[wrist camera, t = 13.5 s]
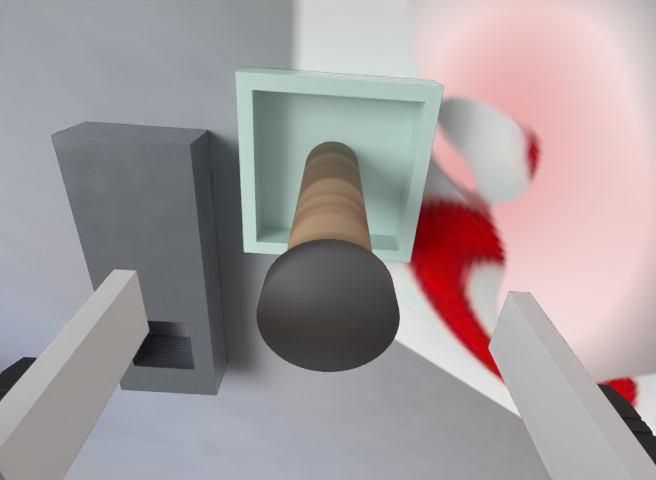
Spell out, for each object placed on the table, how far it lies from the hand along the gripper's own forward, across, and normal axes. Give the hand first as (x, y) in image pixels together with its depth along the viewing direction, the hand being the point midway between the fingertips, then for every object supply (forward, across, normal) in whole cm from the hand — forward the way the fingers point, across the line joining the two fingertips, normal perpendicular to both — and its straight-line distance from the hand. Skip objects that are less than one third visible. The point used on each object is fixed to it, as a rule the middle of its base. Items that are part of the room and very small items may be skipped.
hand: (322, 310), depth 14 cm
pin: (+17, 0, -1) cm, 17 cm away
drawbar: (+18, -14, -10) cm, 25 cm away
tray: (+18, 0, 0) cm, 18 cm away
